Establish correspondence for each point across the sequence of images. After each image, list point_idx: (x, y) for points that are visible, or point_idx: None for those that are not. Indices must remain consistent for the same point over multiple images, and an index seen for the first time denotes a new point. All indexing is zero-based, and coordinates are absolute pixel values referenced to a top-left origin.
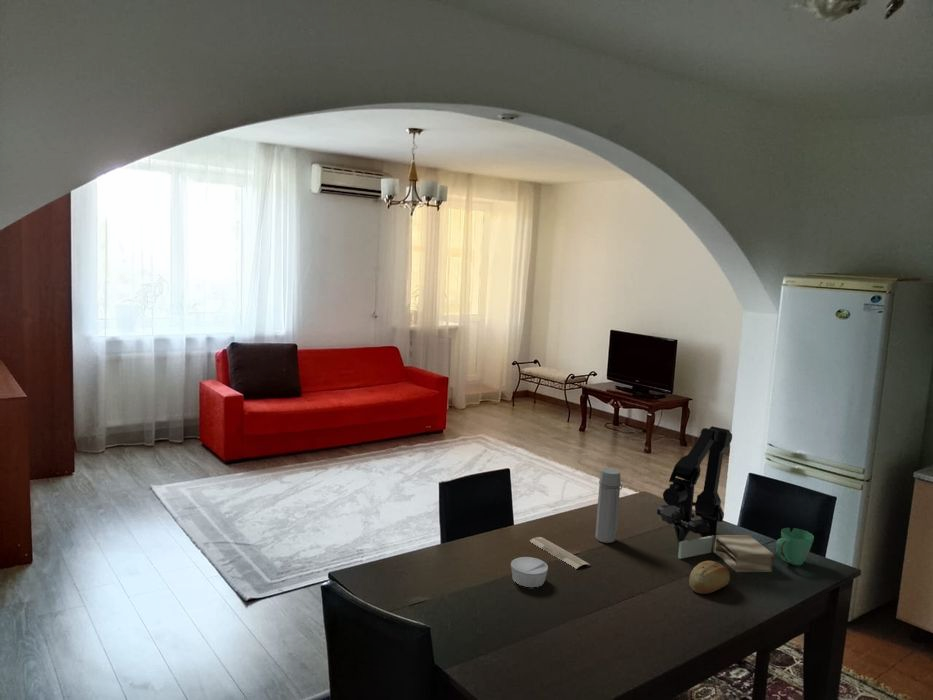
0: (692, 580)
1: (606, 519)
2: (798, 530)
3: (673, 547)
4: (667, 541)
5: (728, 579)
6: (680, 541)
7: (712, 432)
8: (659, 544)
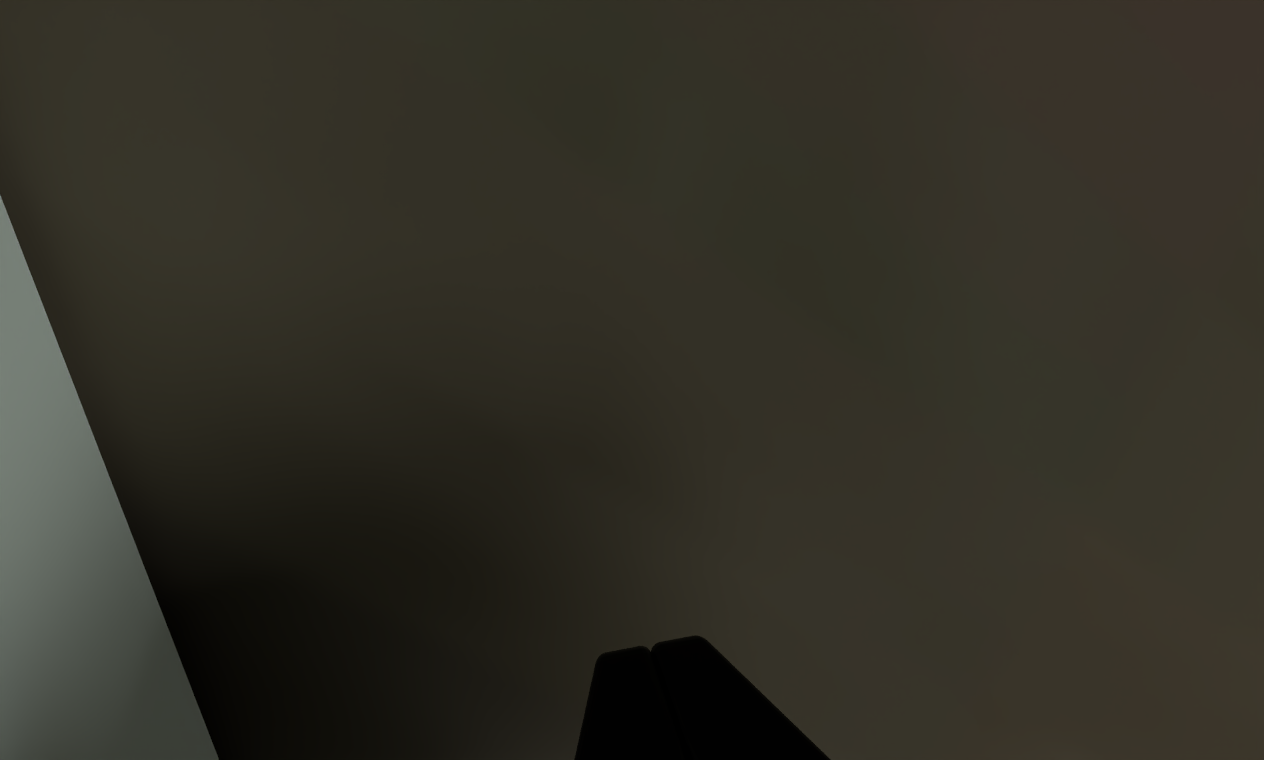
0: None
1: None
2: None
3: (866, 429)
4: (1235, 477)
5: None
6: (588, 721)
7: None
8: (1243, 114)
